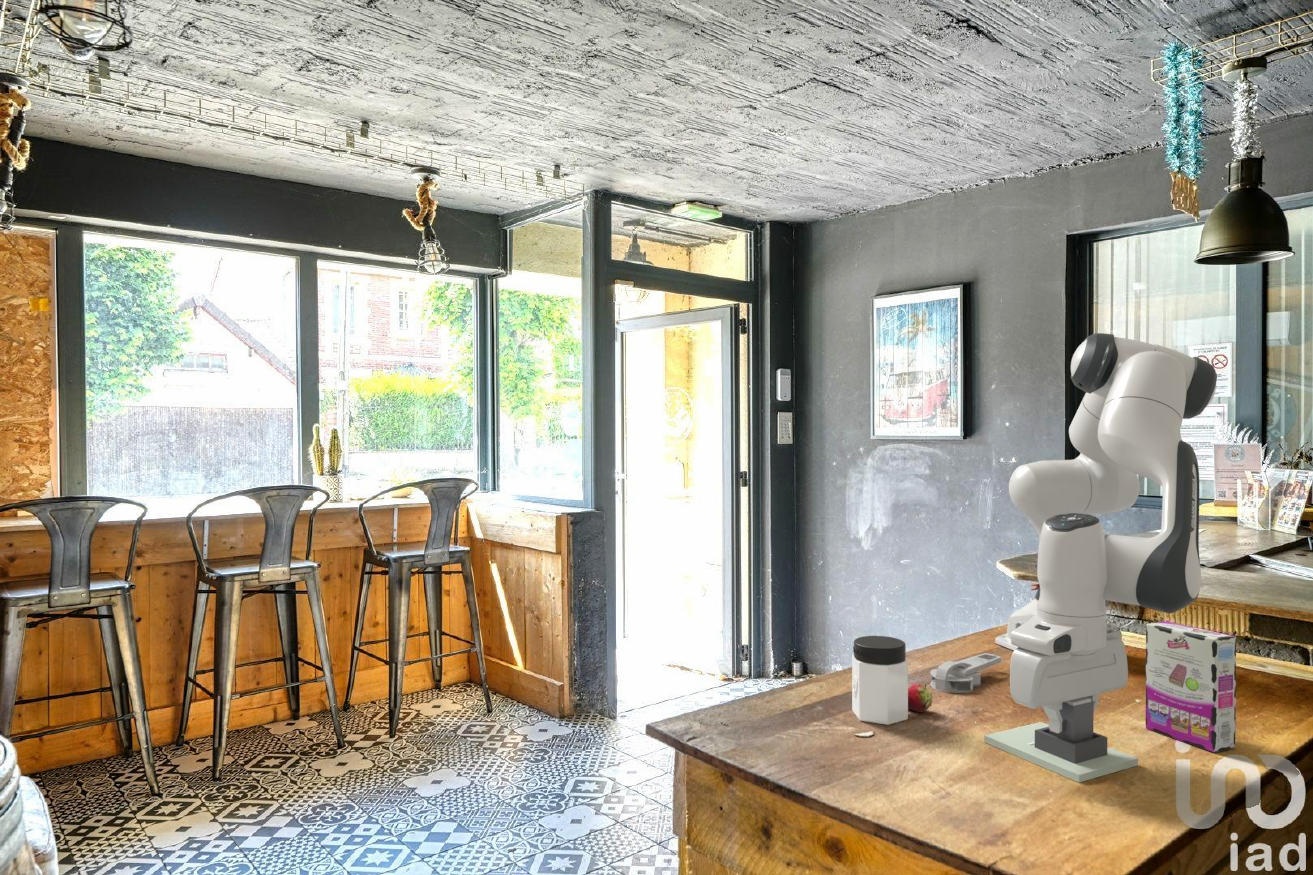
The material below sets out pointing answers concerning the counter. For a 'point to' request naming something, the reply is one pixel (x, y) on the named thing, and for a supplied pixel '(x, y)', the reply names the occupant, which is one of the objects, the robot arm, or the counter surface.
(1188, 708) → the candy bar box
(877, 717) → the jar
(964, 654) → the counter surface
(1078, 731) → the plug
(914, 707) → the fruit
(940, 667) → the zipper pull
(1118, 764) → the header board
